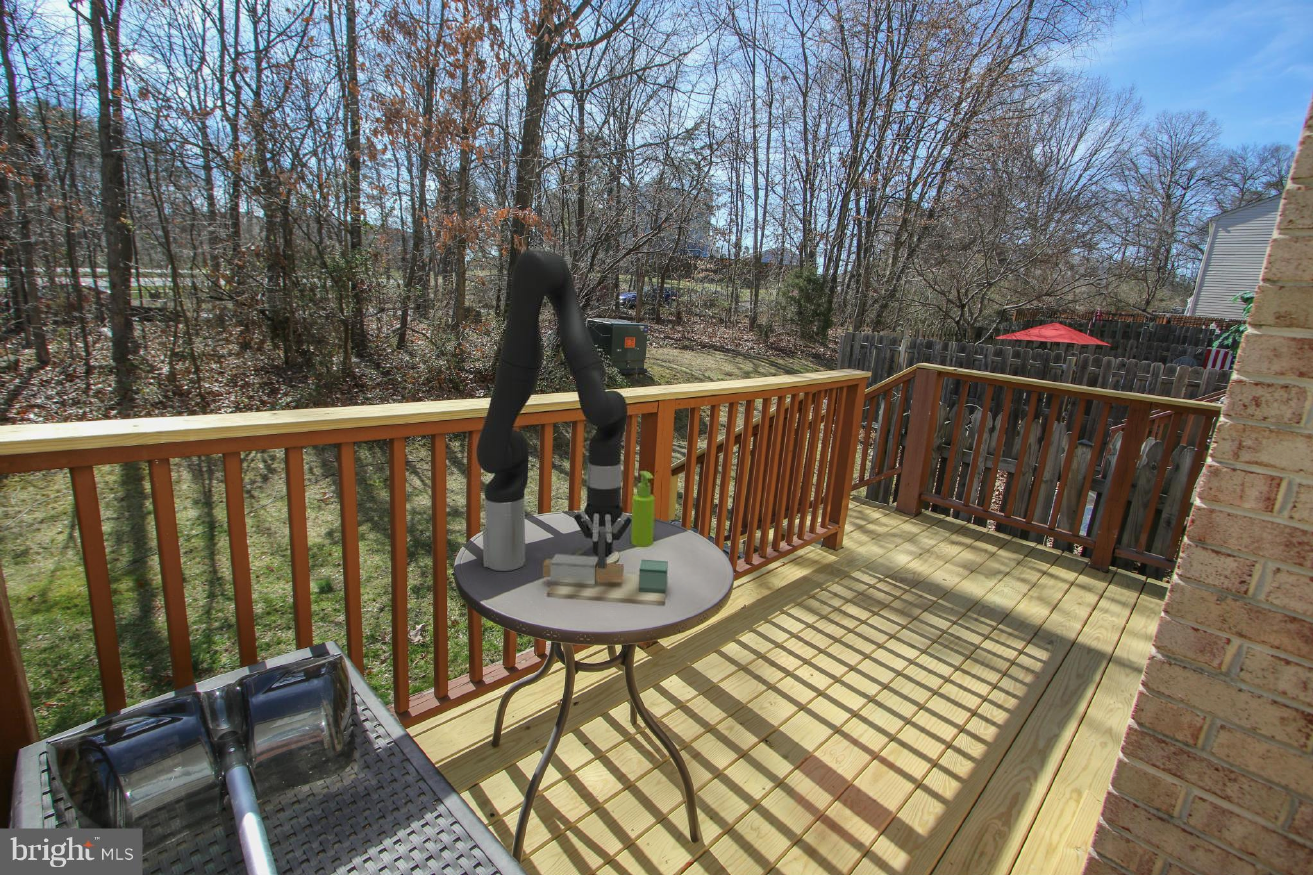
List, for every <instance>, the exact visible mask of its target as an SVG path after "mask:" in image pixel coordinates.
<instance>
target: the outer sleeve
mask: <svg viewBox="0 0 1313 875" xmlns="http://www.w3.org/2000/svg"><path fill="white" fill-rule="evenodd" d="M552 559H553V560H552V561H551V577H550V586H551V585H553V586H567V587H580V588H595V586H596V583H597V580H595V567H596V564H597V562H598V557H597V556H594V555H580V554H568V553H566V554H565V553H555V554H554V556H553V557H552Z"/></svg>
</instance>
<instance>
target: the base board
mask: <svg viewBox="0 0 1313 875" xmlns="http://www.w3.org/2000/svg"><path fill="white" fill-rule="evenodd" d="M668 577H669V576H667V582H668V579H669V578H668ZM667 588H668V585H667V586H666V590H667ZM666 595H667V592H666V593H665V594H662V593H649V592H639V574H636V573H624V576H623V580H622V582H611V581H597V583H596V586H595V588H580V587H567V586H553V585H551V584H550V586H549V588H548V589H547V591H546V597H547V598H557V599H560V598H562V599H570V600H571V599H572V600H585V601H599V602H610V603H612V602H613V603H623V604H624V603H628V604H636V605H637V604H638V605H641V604H642V605H653V606H665V602H666Z"/></svg>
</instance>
